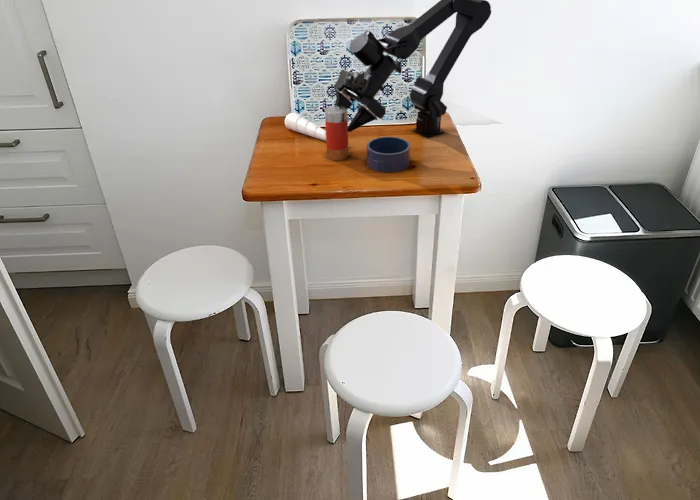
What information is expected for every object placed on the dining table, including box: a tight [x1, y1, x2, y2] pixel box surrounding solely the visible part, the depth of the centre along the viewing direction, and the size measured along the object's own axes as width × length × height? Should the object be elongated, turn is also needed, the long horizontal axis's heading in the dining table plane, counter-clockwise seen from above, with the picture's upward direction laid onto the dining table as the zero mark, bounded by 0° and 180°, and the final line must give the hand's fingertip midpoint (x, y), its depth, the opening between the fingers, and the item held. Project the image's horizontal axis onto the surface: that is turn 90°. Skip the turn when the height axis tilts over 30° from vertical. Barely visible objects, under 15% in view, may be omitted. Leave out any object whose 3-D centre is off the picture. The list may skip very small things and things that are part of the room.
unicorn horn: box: [284, 112, 350, 148], centre depth 165 cm, size 5×24×5 cm, turn 45°
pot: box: [366, 136, 411, 173], centre depth 151 cm, size 11×11×5 cm
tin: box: [324, 105, 349, 161], centre depth 153 cm, size 6×6×13 cm
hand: (339, 125), depth 152 cm, fingers open, 9 cm apart
